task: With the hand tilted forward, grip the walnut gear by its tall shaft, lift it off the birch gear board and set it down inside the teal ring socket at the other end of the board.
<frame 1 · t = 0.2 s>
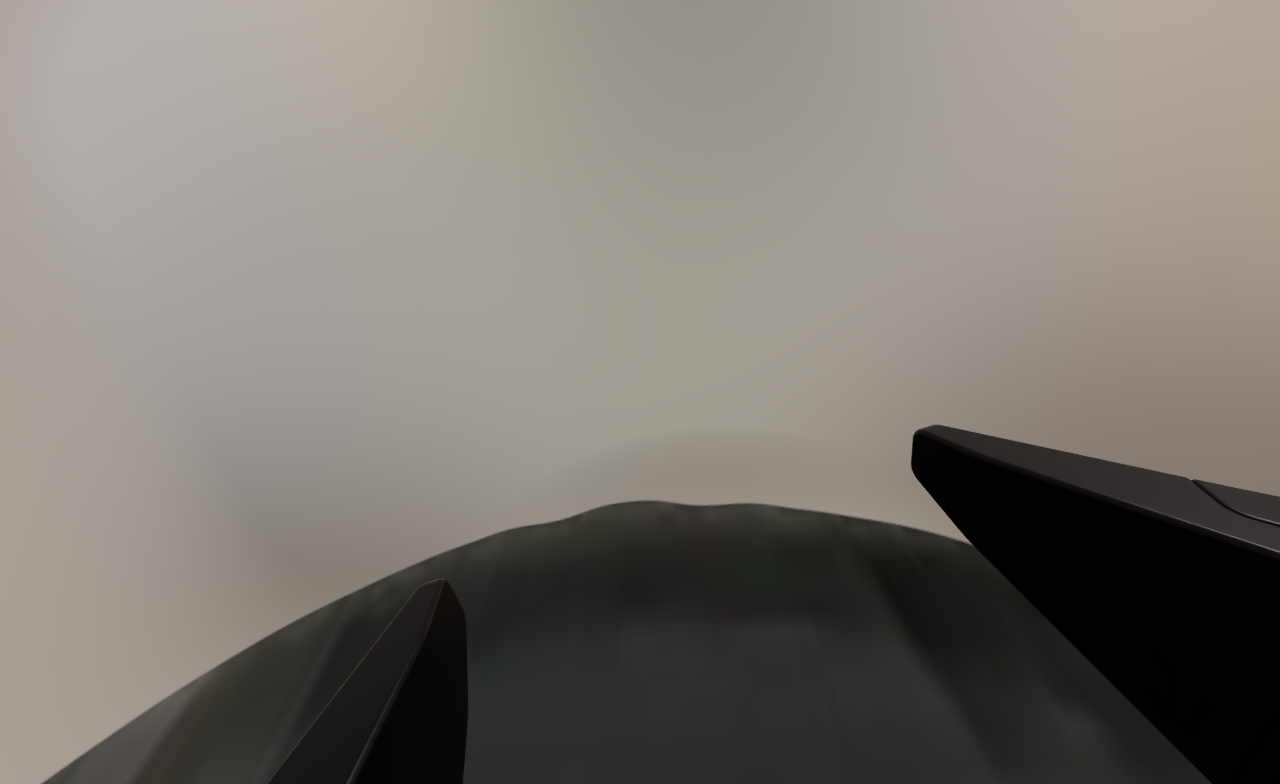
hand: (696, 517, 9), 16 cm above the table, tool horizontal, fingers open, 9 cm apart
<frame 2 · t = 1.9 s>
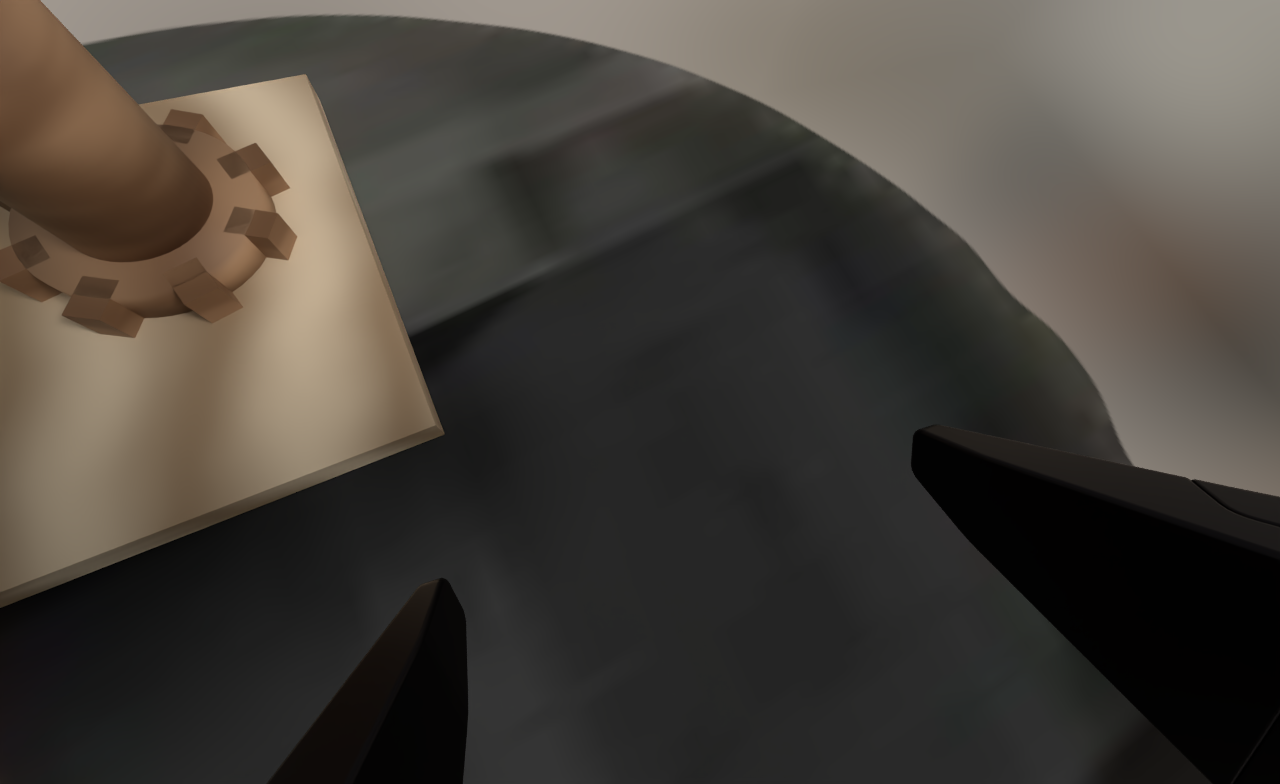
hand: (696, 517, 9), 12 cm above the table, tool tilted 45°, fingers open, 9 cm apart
gear board: (20, 351, 19), on the table
gear: (168, 230, 20), point 1 cm above the table, touching gear board
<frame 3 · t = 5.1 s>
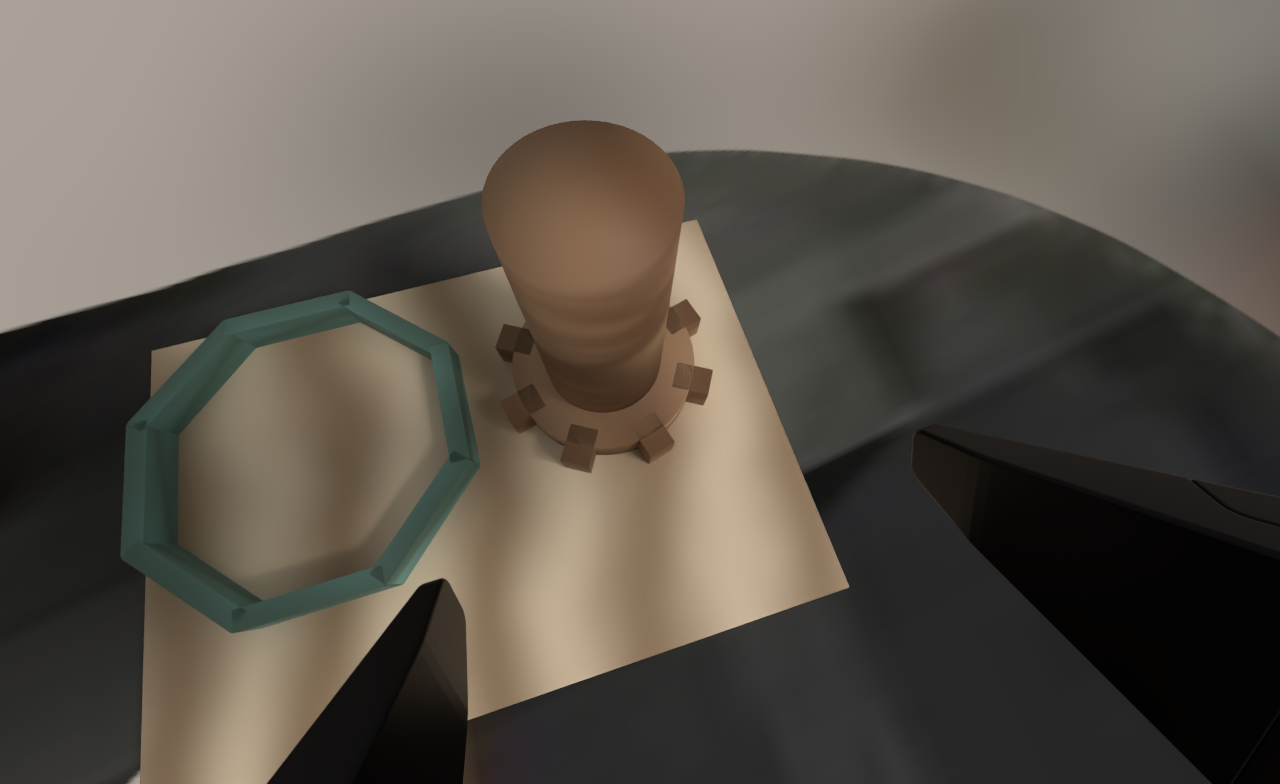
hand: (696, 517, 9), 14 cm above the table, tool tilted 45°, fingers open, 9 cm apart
gear board: (486, 467, 23), on the table
gear: (605, 371, 23), point 1 cm above the table, touching gear board
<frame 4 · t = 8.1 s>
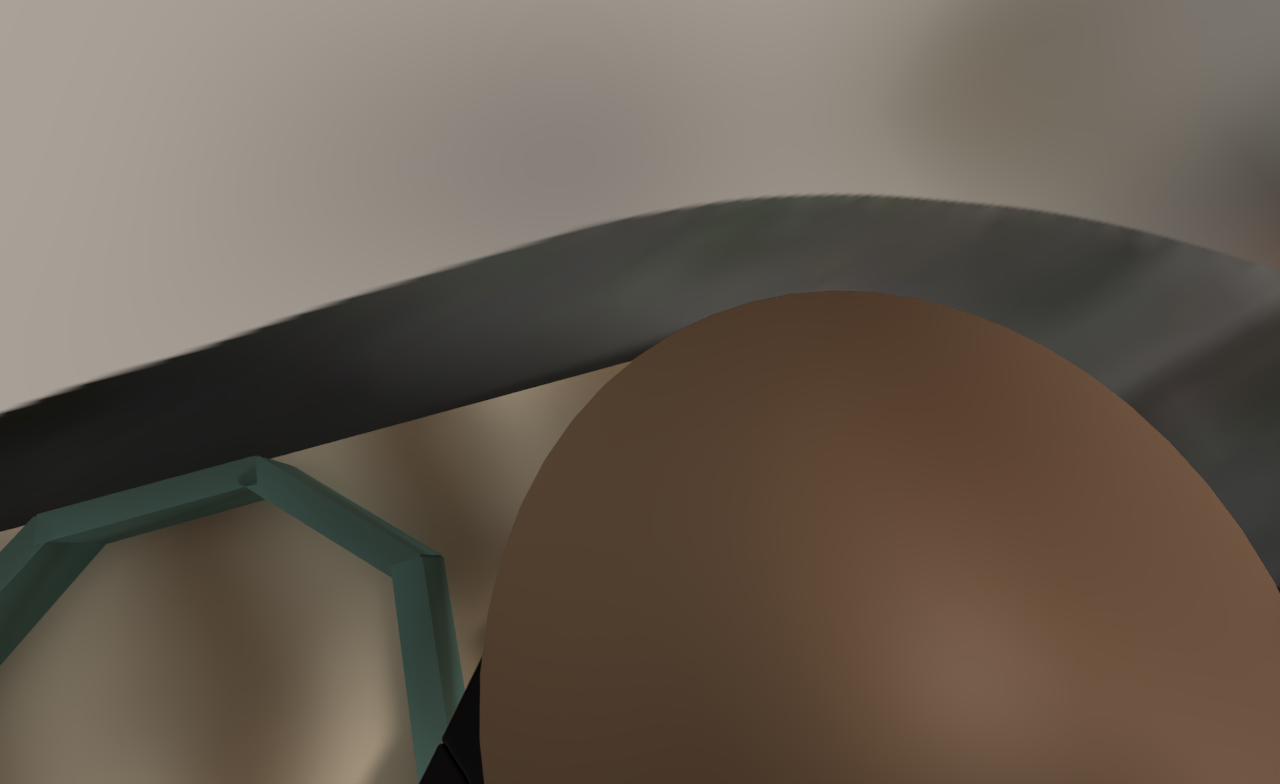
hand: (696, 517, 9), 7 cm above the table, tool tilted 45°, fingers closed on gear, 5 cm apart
gear board: (489, 746, 14), on the table
gear: (686, 584, 14), point 2 cm above the table, touching gear board, gripper
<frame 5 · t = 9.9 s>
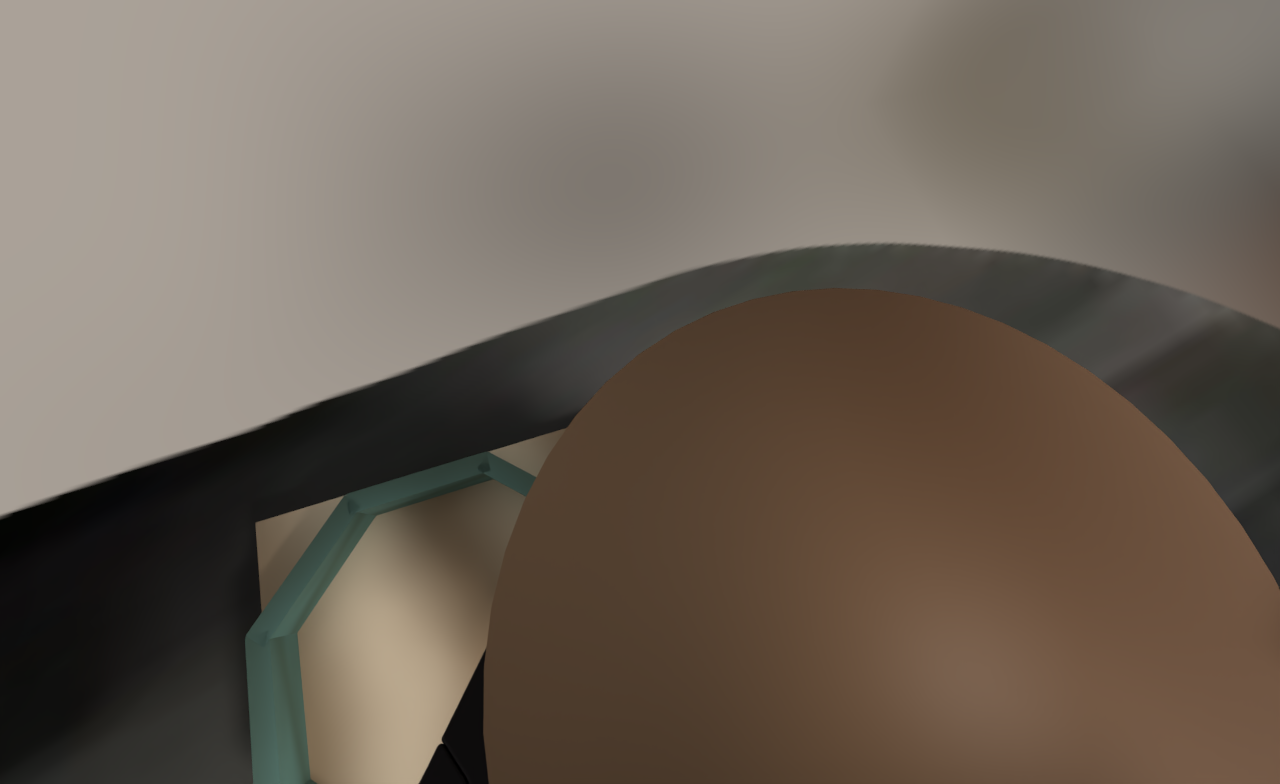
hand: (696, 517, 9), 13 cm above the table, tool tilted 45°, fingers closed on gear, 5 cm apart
gear board: (647, 649, 20), on the table
gear: (687, 583, 14), point 7 cm above the table, touching gripper
when the fingers open (9 cm above the table, at t = 11.9 s): gear drops 2 cm, resting on gear board.
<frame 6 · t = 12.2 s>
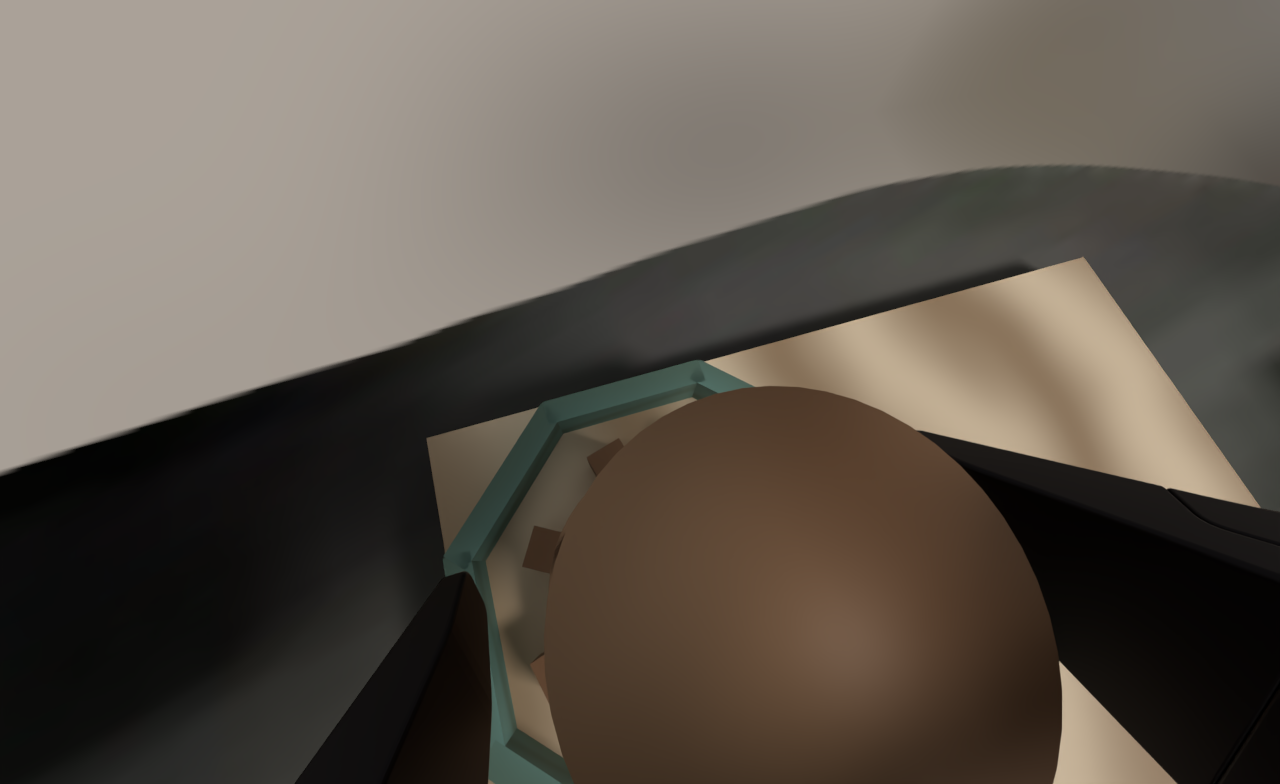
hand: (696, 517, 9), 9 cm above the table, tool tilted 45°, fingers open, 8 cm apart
gear board: (874, 595, 17), on the table
gear: (681, 583, 16), point 1 cm above the table, touching gear board
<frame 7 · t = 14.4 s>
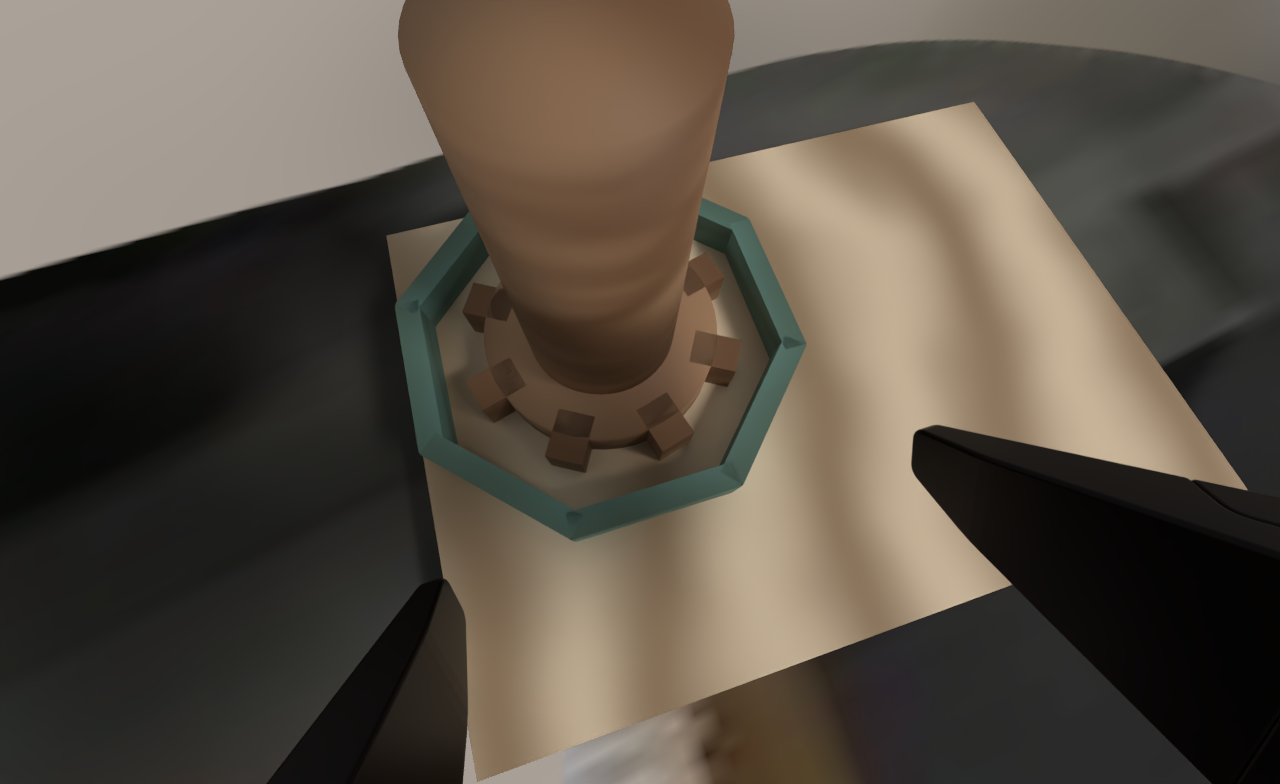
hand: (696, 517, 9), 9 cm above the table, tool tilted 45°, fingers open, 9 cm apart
gear board: (776, 371, 20), on the table
gear: (603, 344, 18), point 1 cm above the table, touching gear board
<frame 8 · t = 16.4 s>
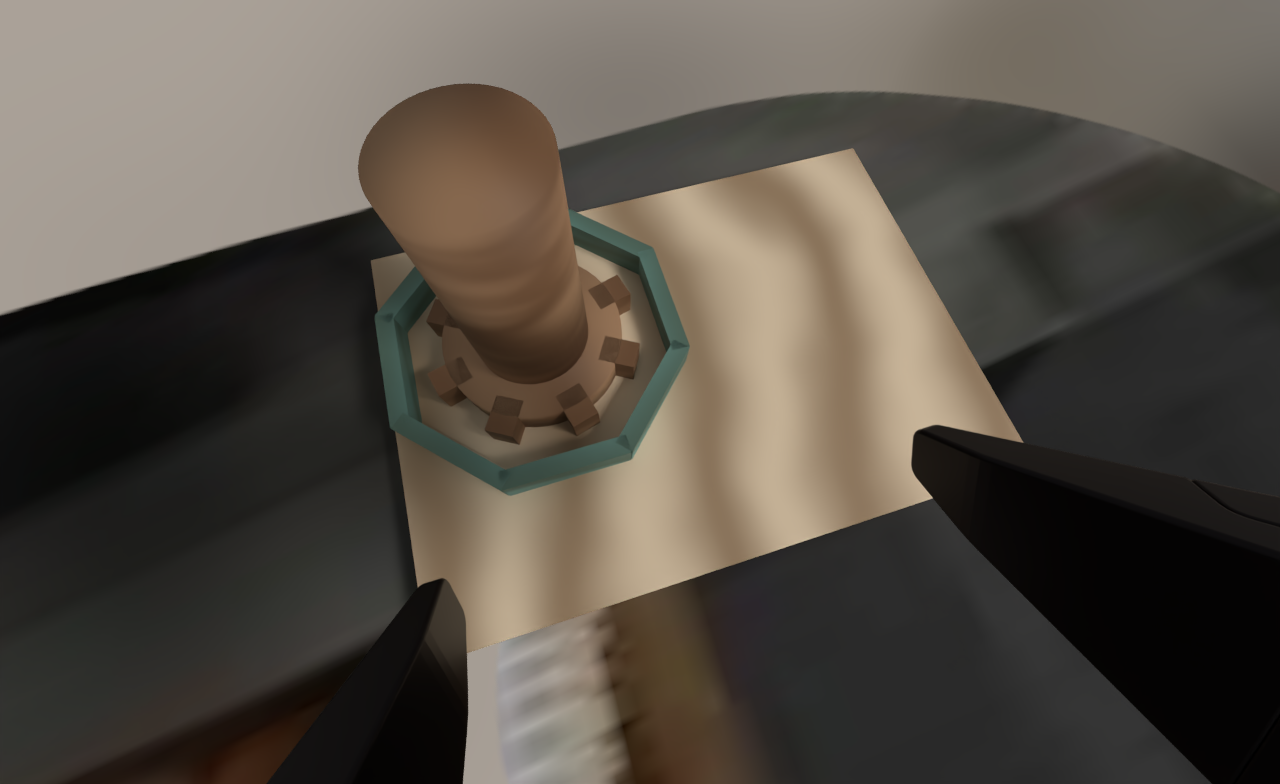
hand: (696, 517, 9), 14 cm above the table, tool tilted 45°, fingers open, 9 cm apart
gear board: (679, 368, 25), on the table
gear: (538, 346, 23), point 1 cm above the table, touching gear board
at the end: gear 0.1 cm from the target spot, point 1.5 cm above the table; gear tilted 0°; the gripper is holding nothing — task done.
